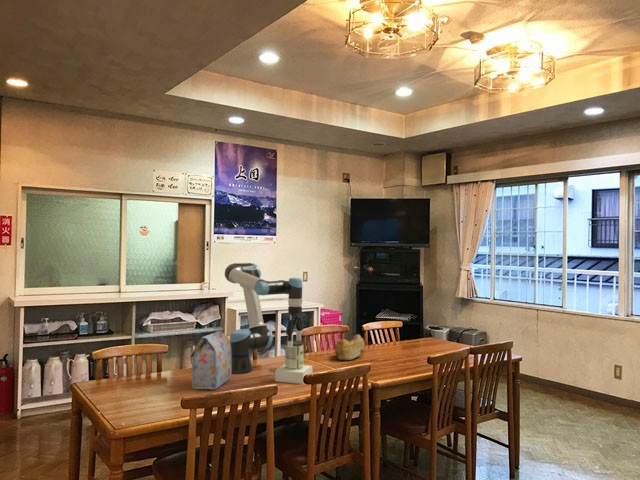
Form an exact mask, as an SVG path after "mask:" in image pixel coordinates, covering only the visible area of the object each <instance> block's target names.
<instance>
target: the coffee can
mask: <svg viewBox="0 0 640 480" xmlns="http://www.w3.org/2000/svg"><path fill="white" fill-rule="evenodd" d="M284 344H285V347H284V348H285V349H284V351H285V352H284V354H285V355H284V361H285V362H284V364H285V369H288V370H300V369H303V365H304V344H305V343H304V341H302V340H301V341H296V340H293V347H288V340H287V341H285V343H284Z"/></svg>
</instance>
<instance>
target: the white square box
mask: <svg viewBox="0 0 640 480" xmlns="http://www.w3.org/2000/svg"><path fill="white" fill-rule="evenodd" d="M311 373H312V374H313V365H307V364H303V369H300V370H288V369H285V363H284V364H282V365H280V366H279V367H278V368H276V369H275V370H274V382H278V383H279V382H281V383H290V384H299V385H303V377H304V376H305V375H307V374H311Z"/></svg>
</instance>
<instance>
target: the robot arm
mask: <svg viewBox="0 0 640 480" xmlns="http://www.w3.org/2000/svg"><path fill="white" fill-rule="evenodd" d="M261 275H262V271H261V269H260V267H259V265H257V264H256V263H251V262H241V263H240V262H236V263H231V264H228V266H227V267H226V268H225V270H224V277H225V280H226V281H228V282H229V283H232V284H238V285H239V286H240V288H242V291H243V296H244V302H245V307H246V312H247V318H248V322H249V323H248V324H249V327H248V328H240V329H235V330H233V331H231V333H230V334H229V335H230V336H229V340H230V343H231V354H232V374H248V373H252V372H253V369H254V367H253V363H252V361H251V354H250V353H251V352H254V351H259V350H265V349H268V348H270V346H271V345H272V344H273V339H274V336H273V334H274V333H273V332H272V331H271V329H269V328H268V327H267V324H266V323H265V322H264V318H263V312H262V307H261V301H260V297H259V296H270V295H288V301H287V302H288V307H287V308H288V309H287V311H288V314H290V315H288V322H287V326H286V332H285V335H286V336H287V341H288V347H293V341H294V334H293V333H294V330H295V328H296V330H295V331H296V333H295V335H296V336H295V341H302V332H303V331H304V328H303V322H302V321H303V320H302V313H303V306H302V305H303V301H304V300H303V287H304V286H303V279H302V278H300V277H290V278H288V280H283V279H282V280H281V279H279V280H269V281H268V280H265V279H263V278H261Z"/></svg>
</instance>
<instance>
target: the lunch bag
mask: <svg viewBox="0 0 640 480" xmlns="http://www.w3.org/2000/svg"><path fill="white" fill-rule="evenodd" d="M189 357H190V358H192V359H191V360H192V361H191V387H192V389H193V390H212V391H213V390H217V389H218V388H219V387H220V386H222V385H223V384H225V383H227V382H229V381H231V379H232V374H233V373H232V354H231V343H230V338H229V337H228V336H227V335H226V333H225V332H223V331H222V330H220V331H219V330H217V331H215V332H213V333H212V332H211V333H210V334H207V335H204V336H202V337H201V339H200V341H199V342H198V343H197V345H196V346H195V348H194V349H193V351H192V352H191V353H190V356H189Z"/></svg>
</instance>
